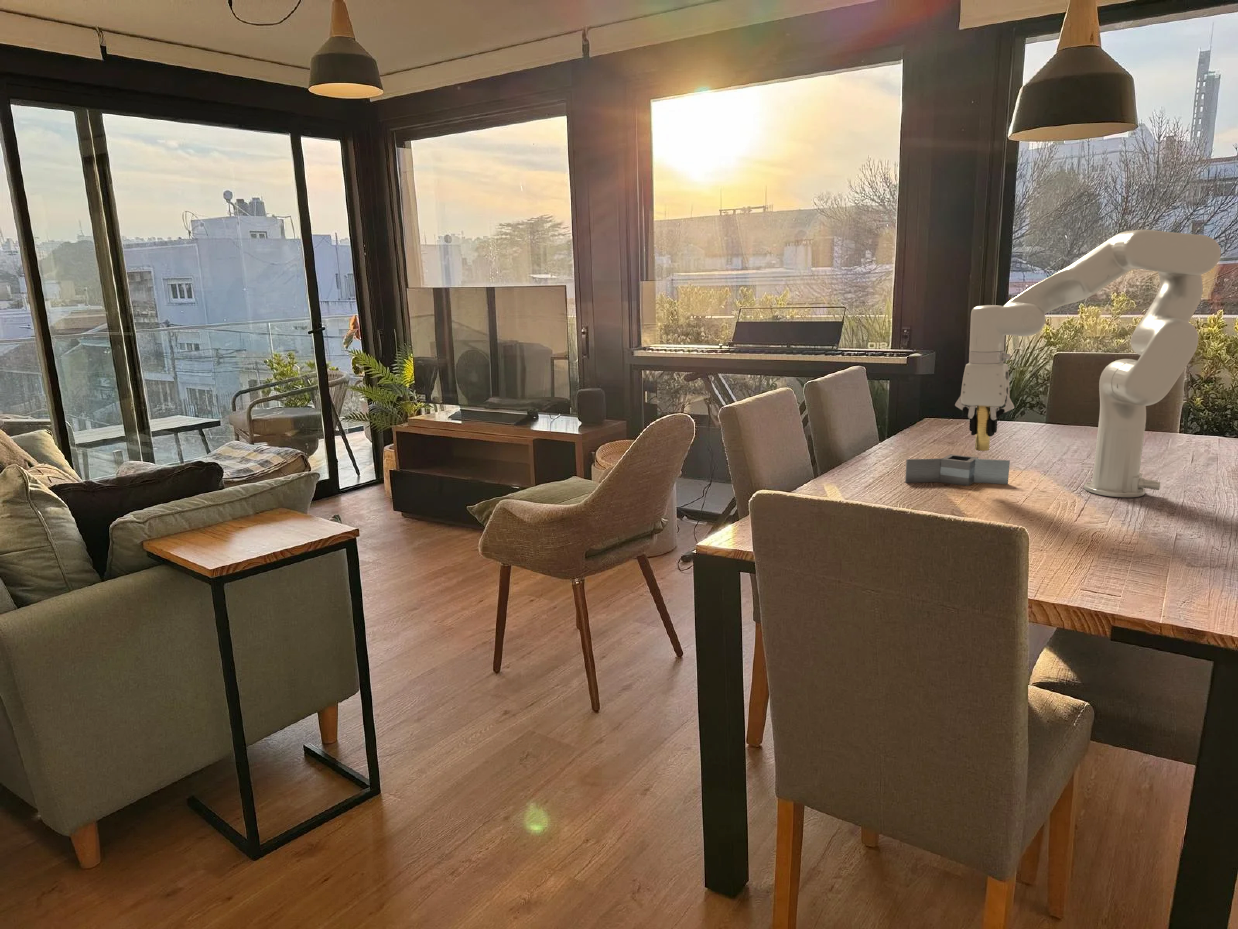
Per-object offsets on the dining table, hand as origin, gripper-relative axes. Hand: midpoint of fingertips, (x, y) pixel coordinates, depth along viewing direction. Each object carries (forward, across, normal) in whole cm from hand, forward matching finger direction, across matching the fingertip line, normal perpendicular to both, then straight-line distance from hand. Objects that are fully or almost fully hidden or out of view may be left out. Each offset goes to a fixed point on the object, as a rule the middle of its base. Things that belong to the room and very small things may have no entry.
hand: (982, 434), depth 202 cm
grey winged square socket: (+14, +7, -3) cm, 16 cm away
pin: (+4, 0, 0) cm, 4 cm away
